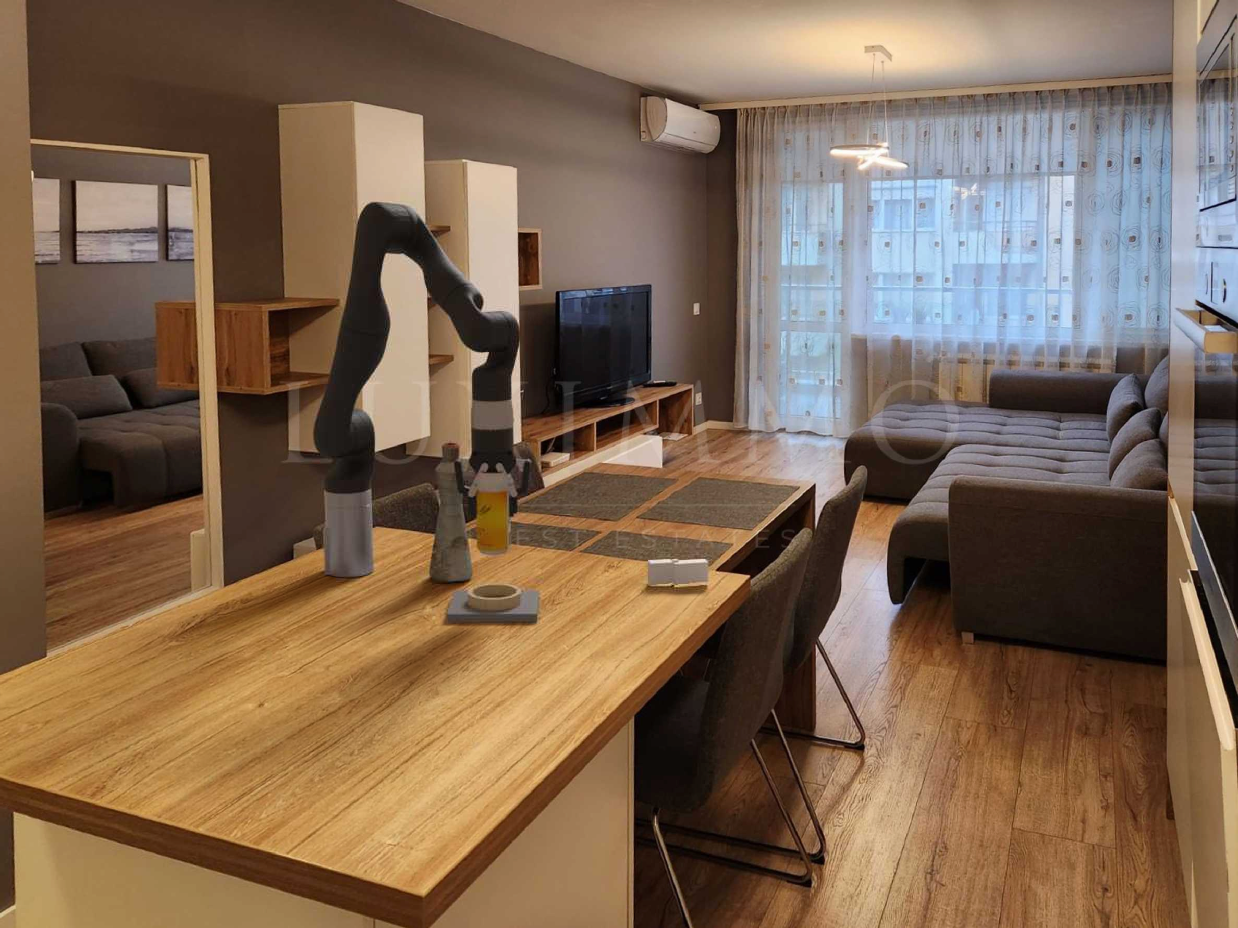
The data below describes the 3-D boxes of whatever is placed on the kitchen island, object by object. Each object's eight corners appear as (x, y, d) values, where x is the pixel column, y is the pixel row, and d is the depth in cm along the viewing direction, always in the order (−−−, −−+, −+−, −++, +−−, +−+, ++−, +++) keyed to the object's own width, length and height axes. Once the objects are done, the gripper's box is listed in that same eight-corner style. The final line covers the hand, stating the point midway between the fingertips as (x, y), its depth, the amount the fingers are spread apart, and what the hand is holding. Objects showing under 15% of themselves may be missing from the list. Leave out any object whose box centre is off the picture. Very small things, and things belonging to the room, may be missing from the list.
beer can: (477, 547, 205) (476, 467, 202) (510, 546, 205) (509, 467, 202) (476, 556, 199) (475, 474, 196) (510, 555, 199) (509, 473, 196)
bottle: (437, 587, 217) (434, 446, 211) (423, 575, 225) (420, 439, 219) (479, 582, 221) (477, 443, 215) (464, 570, 229) (462, 436, 223)
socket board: (446, 622, 197) (446, 603, 196) (454, 597, 211) (454, 580, 210) (537, 621, 198) (537, 603, 197) (539, 597, 211) (539, 579, 211)
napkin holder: (720, 584, 223) (721, 556, 222) (699, 599, 213) (700, 570, 212) (652, 574, 229) (652, 547, 228) (628, 588, 219) (629, 560, 218)
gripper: (449, 427, 194) (451, 521, 197) (532, 427, 194) (532, 521, 197) (453, 421, 201) (455, 511, 204) (533, 421, 202) (534, 511, 205)
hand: (493, 515), depth 201 cm, fingers closed on beer can, 6 cm apart
